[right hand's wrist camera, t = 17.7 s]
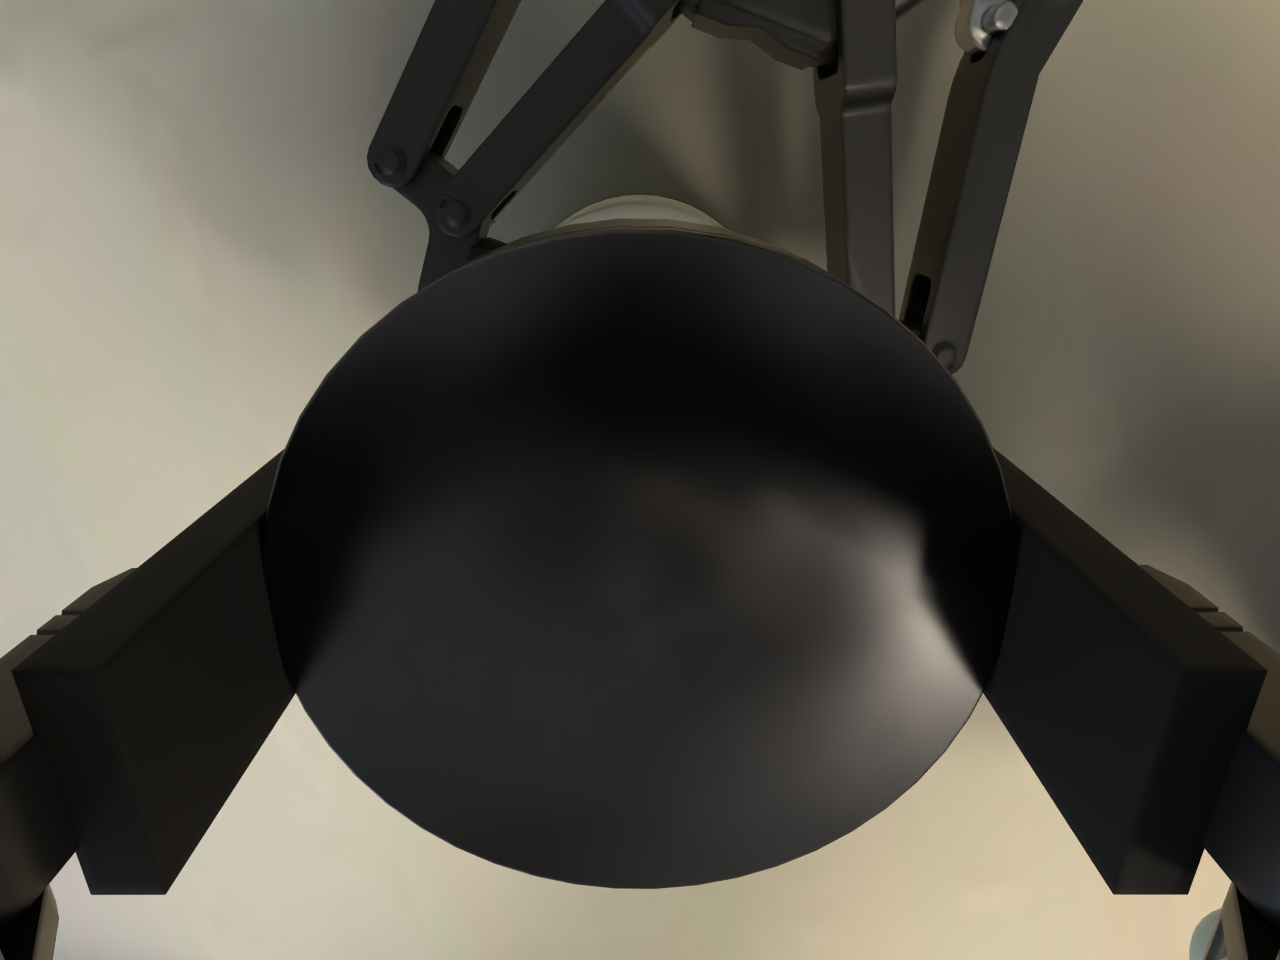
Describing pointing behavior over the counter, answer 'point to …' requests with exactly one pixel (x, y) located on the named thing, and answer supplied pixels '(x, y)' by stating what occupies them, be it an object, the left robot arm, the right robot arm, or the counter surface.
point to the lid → (639, 556)
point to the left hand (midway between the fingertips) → (592, 506)
